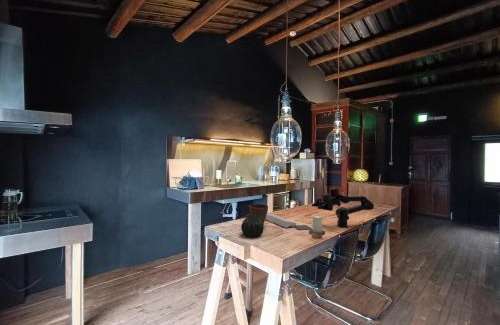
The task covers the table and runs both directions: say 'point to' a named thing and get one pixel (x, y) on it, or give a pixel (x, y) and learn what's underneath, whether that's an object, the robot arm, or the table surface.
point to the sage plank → (317, 223)
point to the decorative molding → (279, 221)
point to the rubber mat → (302, 227)
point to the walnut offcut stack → (317, 234)
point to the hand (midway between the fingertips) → (314, 206)
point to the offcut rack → (312, 232)
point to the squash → (252, 226)
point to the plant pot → (259, 211)
